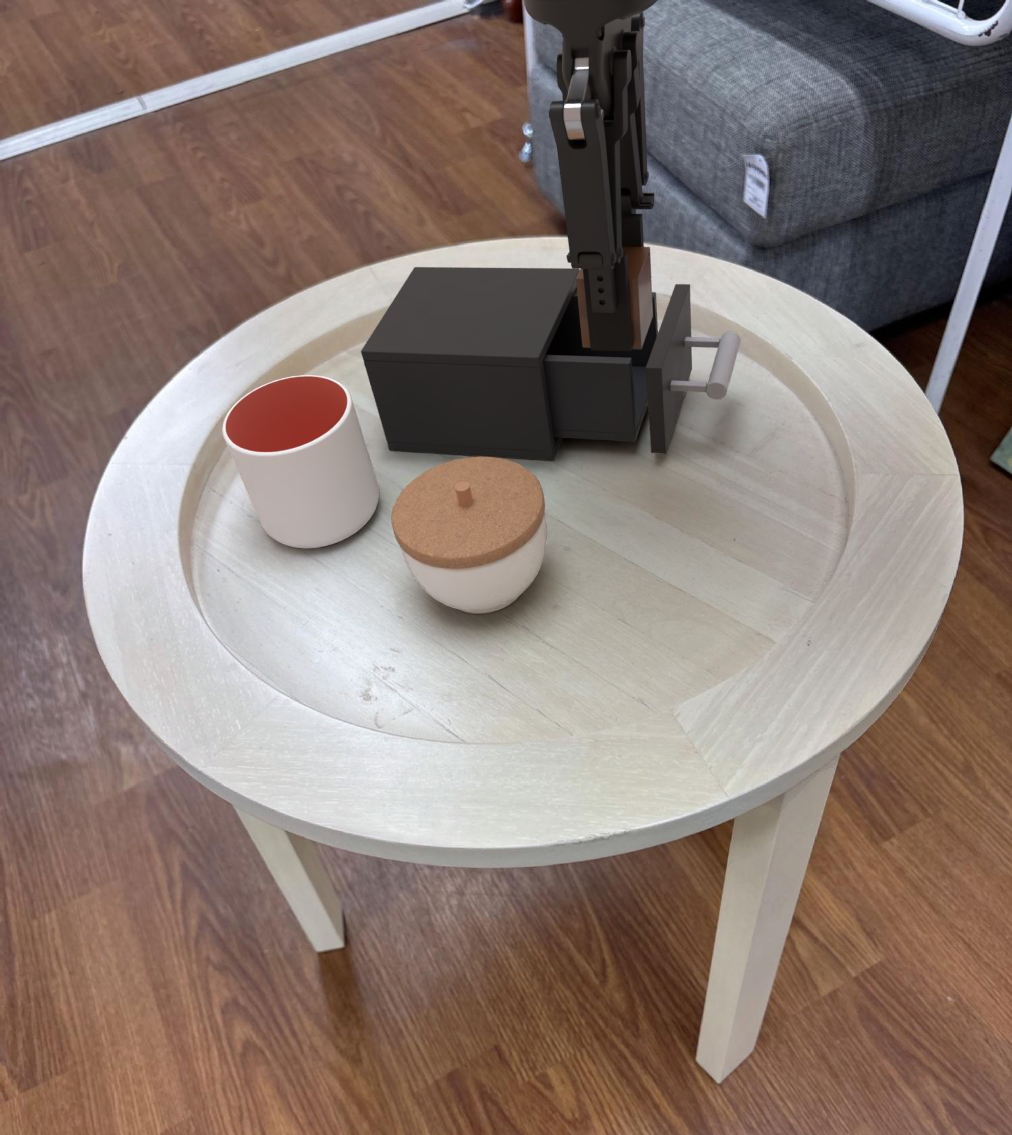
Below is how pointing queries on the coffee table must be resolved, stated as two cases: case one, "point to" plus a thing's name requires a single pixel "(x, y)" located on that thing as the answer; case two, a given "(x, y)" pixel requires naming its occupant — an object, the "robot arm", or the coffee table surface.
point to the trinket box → (472, 532)
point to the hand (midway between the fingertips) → (619, 326)
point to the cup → (303, 460)
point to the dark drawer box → (469, 361)
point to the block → (638, 296)
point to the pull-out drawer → (631, 376)
